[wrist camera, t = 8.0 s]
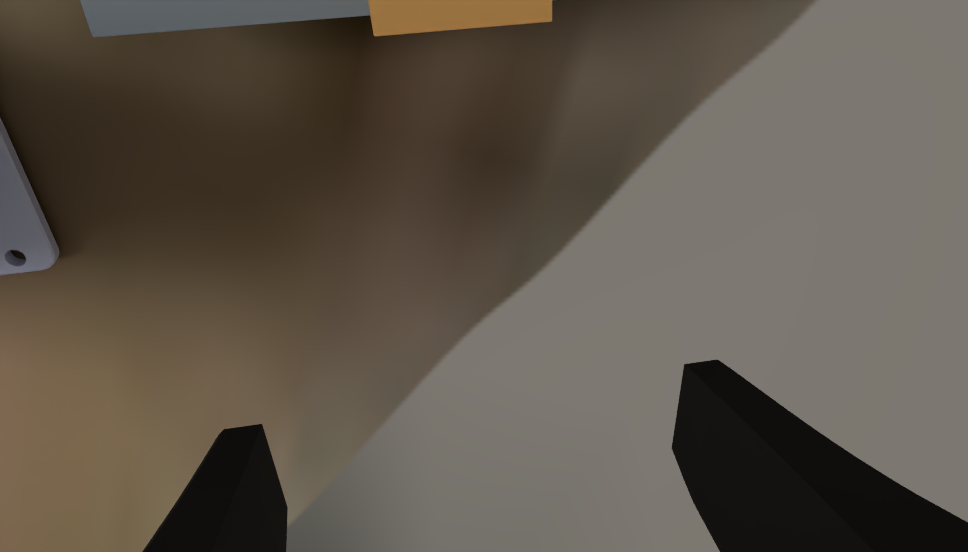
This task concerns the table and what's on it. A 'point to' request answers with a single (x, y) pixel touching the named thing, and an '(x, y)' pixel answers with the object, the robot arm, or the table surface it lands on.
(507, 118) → the table surface
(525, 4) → the carton lid
